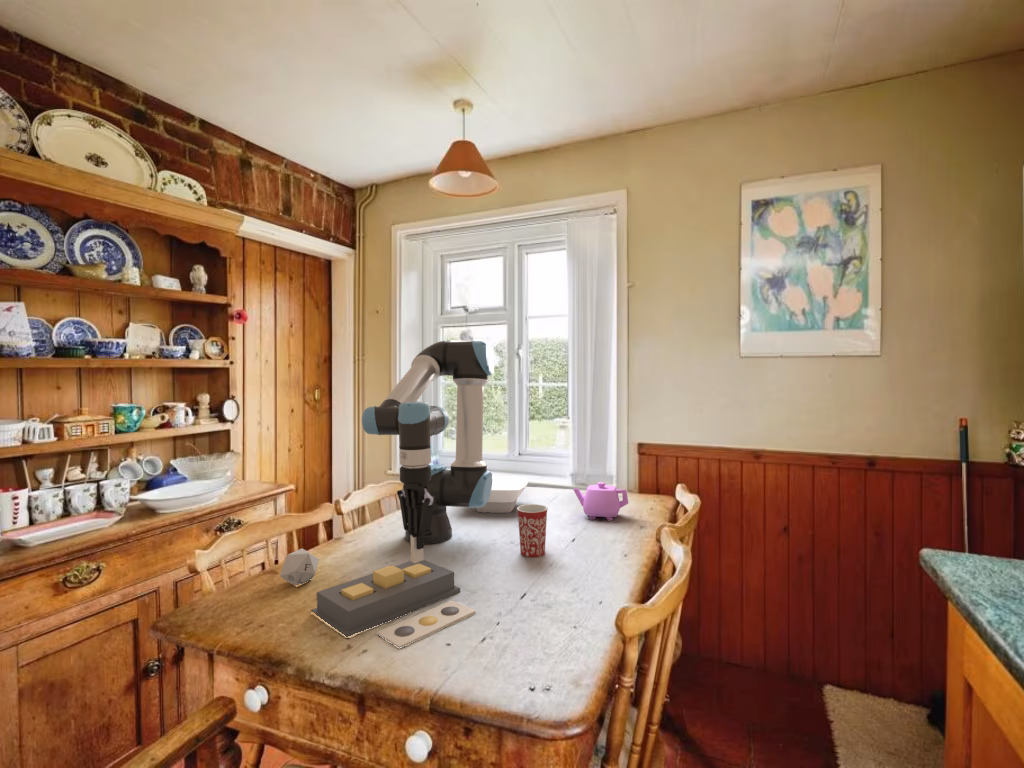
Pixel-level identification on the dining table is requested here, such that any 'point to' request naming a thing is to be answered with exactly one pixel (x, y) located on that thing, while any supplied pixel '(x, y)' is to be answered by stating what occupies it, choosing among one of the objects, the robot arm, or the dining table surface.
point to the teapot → (602, 500)
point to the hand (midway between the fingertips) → (417, 560)
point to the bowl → (504, 494)
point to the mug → (532, 529)
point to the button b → (388, 576)
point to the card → (426, 623)
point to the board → (383, 599)
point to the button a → (357, 591)
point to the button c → (416, 570)
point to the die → (299, 567)
